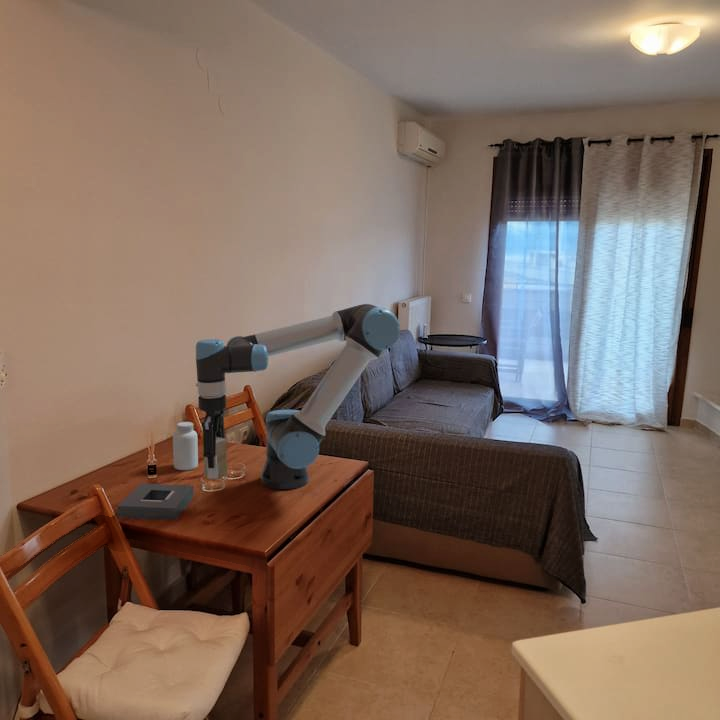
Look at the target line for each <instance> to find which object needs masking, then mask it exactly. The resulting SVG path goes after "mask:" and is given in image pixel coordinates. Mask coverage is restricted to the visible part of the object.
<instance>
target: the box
mask: <svg viewBox="0 0 720 720" xmlns="http://www.w3.org/2000/svg"><path fill="white" fill-rule="evenodd" d="M216 455H217V469H218V478H208V475H207V457H203V468H204V469H203V470H204V471H203V472H204V478H205V479H208V480H212V481H218V480H220V479H222V478H224V477H226V476H228V461H227V460H228V459H227V439H226V437H225V438H220V437H216Z"/></svg>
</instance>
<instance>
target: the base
mask: <svg viewBox="0 0 720 720" xmlns="http://www.w3.org/2000/svg"><path fill="white" fill-rule="evenodd" d="M194 495H195V494H194V485H193V484H189V485H188V484H167V483H166V484H165V483H164V484H163V483H160V484H159V483H139V484H138V485H137V486H136V487H135V488H134V489H133V490H132V491H131V492H130V493H129V494H128V495H127V496H126V497H125V498H124V499H123V500H122V501H121V502H120V503H118V505H117V518H119V519H133V520H134V519H136V520H137V519H139V520H159V521H160V520H161V521H163V520H164V521H177V520H178V518H179V516H180V515H181V514H182V513H183V511H185V509H186V508H187V506H189V504H190V502H191V501H192V499H193V498H194Z"/></svg>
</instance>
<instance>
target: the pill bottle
mask: <svg viewBox="0 0 720 720" xmlns="http://www.w3.org/2000/svg"><path fill="white" fill-rule="evenodd" d="M198 440H199V439H198V433H197V431H195V430H194V423H193V422H190V421H182V422H181V421H180V422H178V423H177V424H176V431H175V432H174V433H173V435H172V451H173V454H172V455H173V458H172V459H173V468H174V469H175V470H177V471H178V470H179V471H189V470H194V469H196V468H198V466H199V450H198V448H199V446H198Z"/></svg>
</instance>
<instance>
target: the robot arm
mask: <svg viewBox="0 0 720 720" xmlns="http://www.w3.org/2000/svg"><path fill="white" fill-rule="evenodd" d="M400 329H401V327H400V322H399V320H398V317H397V316H396V315H395V314H394V313H393V312H392V311H390V310H389V309H387V308H385V307H383V306H382V307H381V306H375V305H373V304H369V303H363V304H358V305H355V306H350V307H348V308H347V307H346V308H344V309H341V310H337V311H336V310H335V311H334V312H333V313H332V315H329V316H325V317H321V318H317V319H313V320H309V321H305V322H300V323H296V324H292V325H291V324H290V325H288V326H284V327H279V328H276V329H272V330H267V331H263V332H259V333H254V334H250V335H246V336H242V335H241V336H239V335H237V336H232V337H231V338H230V339H228V341H227V343H226V345H225V344H224V341H223V340H221V339H218V338H210V339H209V338H207V339H201V340H199V341H197V342H196V344H195V364H196V365H195V366H196V367H195V368H196V378H197V383H196V384H195V386H196V387H197V393H198V394H197V395H199V396H198V398H197V399H198V400H197V401H198V409H199V410H200V411H202V412H205V416H204V417H203V418H204V421H202V423H201V428H202V441H203V442H202V443H203V444H202V446H203V448H202V449H203V454H202V457H203V458H204V457H207V475H208V478H218V469H217V455H216V437H220V438H225V439H226V435H225V433H226V432H225V421H224V420H225V419H224V416H225V415H224V414H225V412H224V411H225V409H226V408H227V396H226V393H227V390H226V374H232V373H233V374H235V373H248V372H249V373H250V372H251V373H253V372H254V373H256V372H260V371H266V370H267V368H268V365H269V357H271V356H275V355H280V354H283V353H286V352H291V351H295V350H299V349H303V348H308V347H311V346H315V345H319V344H323V343H328V342H331V341H336V340H338V341H339V342H344V341H345V342H346V344H345V346H344V347H343V349H342V350H341V351H340V353H339V354H338V356H337V357H336V359H335V360H334V361H333V363H332V364H331V366H330V367H329V369H328V371H327V372H326V373H325V375H324V376H323V378H322V379H321V381H320V382H319V384H318V385H317V387H316V388H315V390H313V392H312V394H310V395H311V396H310V397H309V398H308V400H307V401H306V403H305V404H304V406H303V407H302V409H301V410H298V409H278V410H277V409H276V410H271V411H269V412H268V413H267V414H266V417H265V418H266V421H265V424H266V425H265V427H266V429H265V430H266V431H265V432H266V433H265V434H266V438H265V439H266V444H265V445H266V458H265V461H264V465H263V468H262V471H261V473H260V475H261V476H260V481H261V484H262V485H263V486H265V487H266V488H269V489H276V490H293V489H296V488H302V487H304V486H305V485H306V484H308V483H309V475H310V474H309V470H308V467H309V466H311V465H312V464H313V463H315V461H316V460H317V458H318V456H319V453H320V444H321V442H322V441H323V439H324V438H325V436H326V430H325V428H326V426H327V424H328V423H329V421H330V420H331V419H332V417H333V415H334V414H335V413H336V411H337V410H338V408H339V407H340V406H341V403H342V402H343V401H344V400H345V398H346V396H347V395H348V393H349V392H350V391H351V389H352V388H353V386H354V385H355V383H356V382H357V381H358V379H359V378H360V376H361V374H362V373H363V371H364V370H365V369H366V368H367V366H368V364H369V362H371V361H374V360H377V359H379V357H380V356H381V354H382V353H383V351H384V350H388V349H390V348H392V347H393V346H394V345H395V344H396V343H397V341H398V339H399V337H400V332H401V331H400ZM208 478H207V479H208Z"/></svg>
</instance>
